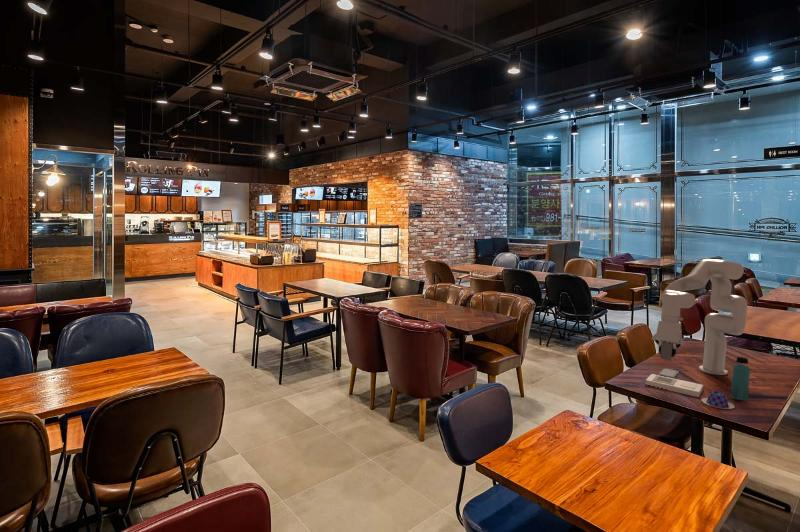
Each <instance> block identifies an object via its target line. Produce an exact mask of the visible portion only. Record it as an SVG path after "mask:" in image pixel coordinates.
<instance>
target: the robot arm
mask: <svg viewBox="0 0 800 532" xmlns="http://www.w3.org/2000/svg"><path fill="white" fill-rule="evenodd" d="M743 275H744V266H743V265H742V264H741V263H739V262H734V261H729V260H725V259H724V260H723V259H712V258H705V259H701V260H700V261H699V262H698V263H697V264H696V265H695V266H694V268H692V270H691V271H690V272H689V273H688V275H686V276H684V277H680V278H678V279H676V280H674V281H672V282H671V283H669V284H668V285H667V286H666V288H665V289H664V290H663V292H662V293H661V296H660V297H661V299H660V300H661V302H662V304H661V316H660V319H659V321H658V323H657V328H656V333H654V335H653V336H652V337H651V340H653V342H655V343H656V344H657V346H658V353H659V355H660V356H661V345H662V342H663V341H666V342H672V343H673V349H672V357H673V358H674V357H675V356H676V355H677V349H678V348H679V347H682V346H684V345H686V341H685V340H684V338H683V337H682V335H683V334H682V332H683V331H682V330H683V329H682V322H681V321H683V320H684V317H681V308H683V309H689V308H693V306H694V305H695V303H696V297H695V295H694V294H692V293H691V292H686V291H691V290H692V291H693V290H699V289H701V288H704V287H705V286H706V284H707V283H708V282H709V280H710V282H711V292H710V300H709V304H710V305H709V307H710V308H711V309H712V310H714V311H718V312H722V313H716V312H710V313H708V314H707V315H706V316H705V317H704V328H705V329H704V330H705V337H704V350H703V358H702V359H703V360H702V365H699V366H698V369H699V370H700V371H701V372H703V373H706V374H710V375H714V376H715V375H717V376H726V375H728V372H729V371H728V370H726V369H725V367H726V366H725V364H726V355H727V354H726V353H727V347H728V346H727V344H728V340H727V337H726V335H727V334H728V335H733V336H740V335H742V334H743V333H744V332H745V328H746V325H747V323H746V322H747V313H748V301H747V299H746V298H745V297H743V296H741V295H735V294H732V288H733V287H732V282H731V280H739V279H740V278H742V276H743ZM730 279H731V280H730ZM725 313H727V314H728V313H729V315H727V314H725ZM731 314H732V315H731ZM725 334H726V335H725Z"/></svg>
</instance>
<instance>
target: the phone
mask: <svg viewBox="0 0 800 532" xmlns="http://www.w3.org/2000/svg"><path fill="white" fill-rule="evenodd" d="M679 373H680V370H675V369H671V368H670V369H669V368H663V369H662V370H661V371H660V372H658V374H657V375H661V376H665V377H669V378H674V379H676V377H677V375H679Z"/></svg>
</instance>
